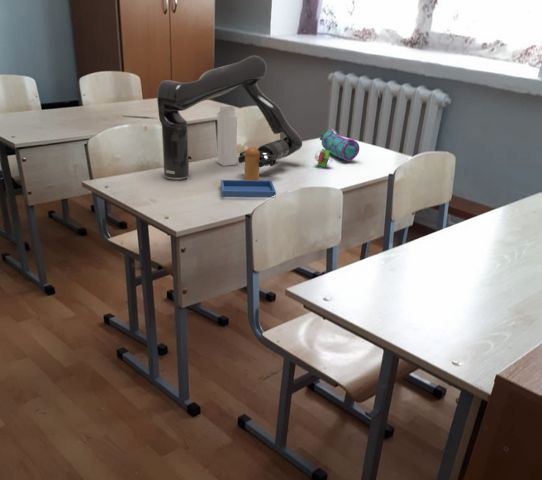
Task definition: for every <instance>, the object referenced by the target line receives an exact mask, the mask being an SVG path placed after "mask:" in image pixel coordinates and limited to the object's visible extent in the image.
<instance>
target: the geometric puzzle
mask: <svg viewBox="0 0 542 480" xmlns="http://www.w3.org/2000/svg"><path fill="white" fill-rule="evenodd" d="M330 157H331V153H330V151H328V150H325V149H324V148H322V149H321V150H320V151H316V152H315V154H314V159H315V160H316V166H319V167H322V168H326V167H327V166H328V165H330V163H329V161H331V162H333V159H330Z"/></svg>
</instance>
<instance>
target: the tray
mask: <svg viewBox="0 0 542 480" xmlns="http://www.w3.org/2000/svg"><path fill="white" fill-rule="evenodd" d="M220 190H221V197H222V198H272V197H271V196H274V195H277V194H276V193H277V192H276V188H275V185H274V183H273V181H272V180H262V179H261V180H260V179H259V180H244V179H220Z"/></svg>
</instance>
